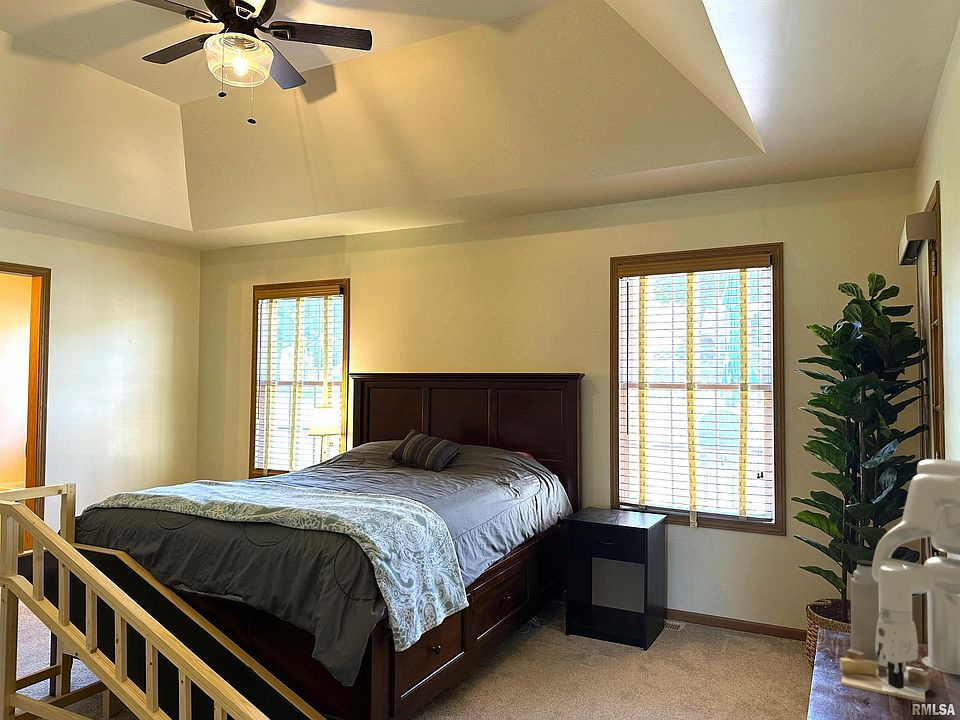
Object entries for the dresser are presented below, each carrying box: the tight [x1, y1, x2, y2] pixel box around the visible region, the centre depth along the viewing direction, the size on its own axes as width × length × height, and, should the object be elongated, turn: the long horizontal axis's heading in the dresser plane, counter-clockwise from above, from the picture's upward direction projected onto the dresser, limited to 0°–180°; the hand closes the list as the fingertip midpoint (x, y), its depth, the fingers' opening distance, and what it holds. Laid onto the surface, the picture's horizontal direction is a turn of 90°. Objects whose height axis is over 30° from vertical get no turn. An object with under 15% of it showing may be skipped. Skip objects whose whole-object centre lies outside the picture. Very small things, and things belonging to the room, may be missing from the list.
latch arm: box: [839, 657, 876, 675], centre depth 192 cm, size 8×2×3 cm, turn 78°
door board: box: [840, 648, 931, 703], centre depth 191 cm, size 21×20×5 cm
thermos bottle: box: [850, 559, 879, 661], centre depth 208 cm, size 8×8×28 cm
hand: (896, 686), depth 181 cm, fingers closed
